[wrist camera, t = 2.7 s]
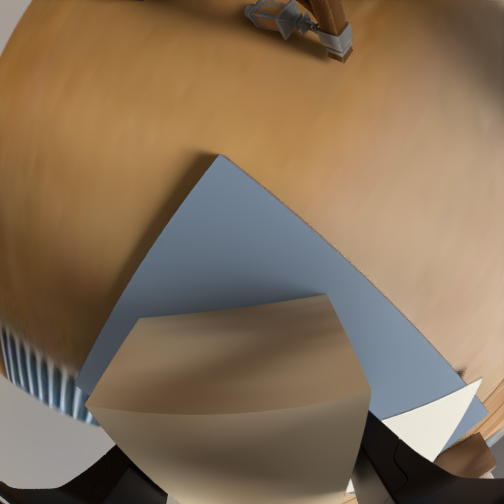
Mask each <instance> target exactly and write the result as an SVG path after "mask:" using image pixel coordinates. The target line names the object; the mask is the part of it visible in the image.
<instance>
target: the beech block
mask: <svg viewBox="0 0 504 504" xmlns="http://www.w3.org/2000/svg"><path fill="white" fill-rule="evenodd" d="M371 394H372V390H371V388H370V386H369V383H368V381H367V379H366V376H365V374H364V372H363V370H362V367H361V365H360V363H359V361H358V358H357V356H356V354H355V352H354V350H353V348H352V345H351V343H350V341H349V339H348V337H347V335H346V333H345V330H344V328H343V326H342V324H341V322H340V320H339V318H338V316H337V314H336V312H335V310H334V308H333V306H332V304H331V301H330V299H329V297H328V295H327V294H324V295H319V296H313V297H307V298H301V299H295V300H289V301H282V302H276V303H269V304H262V305H255V306H248V307H241V308H233V309H225V310H217V311H209V312H200V313H191V314H181V315H171V316H160V317H148V318H139V320H138V321H137V323H136V324H135V326H134V327H133V329H132V330H131V332H130V333H129V335H128V336H127V338H126V339H125V341H124V342H123V344H122V345H121V347H120V349H119V350H118V352H117V353H116V355H115V356H114V358H113V359H112V361H111V363H110V364H109V366H108V367H107V369H106V371H105V372H104V374H103V375H102V377H101V379H100V380H99V382H98V384H97V385H96V387H95V389H94V390H93V392H92V394H91V395H90V397H89V399H88V400H87V402H86V404H85V406H86V407H87V409H88V410H89V411H90V413H91V414H92V415H93V417H94V418H95V419H96V421H97V422H98V423H99V424H100V426H101V427H102V428H103V429H104V430H105V432H106V433H107V434H108V435H109V436H110V437H111V439H112V440H113V441H114V442H115V443H116V444H117V445H118V447H119V448H120V449H121V450H122V451H123V452H124V453H125V454H126V455H127V456H128V457H129V458H130V459H131V460H132V461H133V462H134V463H135V464H136V465H137V466H138V467H139V468H140V469H141V470H142V471H143V472H144V473H145V474H146V475H147V476H148V477H149V478H150V479H151V480H152V481H154V482H155V483H156V484H157V485H158V486H159V487H160V488H162V489H163V490H164V491H165V492H166V493H167V494H169V495H170V496H171V497H172V498H174V499H175V500H176V501H177V502H179V503H180V504H342V501H343V499H344V496H345V493H346V490H347V487H348V484H349V481H350V478H351V475H352V472H353V469H354V465H355V462H356V459H357V455H358V452H359V448H360V444H361V440H362V436H363V432H364V428H365V423H366V419H367V414H368V409H369V404H370V399H371Z"/></svg>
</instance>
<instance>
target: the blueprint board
mask: <svg viewBox="0 0 504 504" xmlns="http://www.w3.org/2000/svg"><path fill="white" fill-rule="evenodd" d="M324 294H327V295H328V297H329V299H330V301H331V304H332V306H333V308H334V310H335V312H336V314H337V316H338V318H339V320H340V322H341V324H342V326H343V328H344V330H345V333H346V335H347V337H348V339H349V341H350V343H351V345H352V348H353V350H354V352H355V354H356V356H357V358H358V361H359V363H360V365H361V367H362V370H363V372H364V374H365V376H366V379H367V381H368V383H369V386H370V388H371V390H372V394H371V399H370V404H369V410H370V411H371V412H372V413H373V414H374V415H375V416H376V417H377V418H378V419H379V420H381V421H382V422H383V423H384V424H385V425H386V426H387V427H388V428H389V429H391V430H392V431H393V432H394V433H395V434H396V435H397V436H398V437H399V439H402V440H403V441H404V442H405V443H406V444H407V445H409V446H410V447H411V448H412V449H414V450H415V451H416V452H418V453H419V454H421V455H422V456H423V457H425V458H426V459H428V460H430V461H431V462H433V461H434V460H435V458H436V457H437V456H438V454H440V453H441V452H443V451H444V450H445V449H447V448H448V447H449V446H451V445H452V444H453V443H455V442H456V441H457V440H458V439H460V438H461V437H462V436H463V435H464V434H466V433H467V432H468V431H469V430H470V429H472V428H473V427H474V426H475V425H476V424H477V423H478V422H479V421H481V420H482V419H483V418H484V417H485V416H486V415H487V414H488V413H489V412H488V411H487V409H486V408H485V406H484V405H483V404H482V402H481V401H480V400H479V399H478V397H477V396H476V395H475V393H476V391H477V389H478V387H479V385H480V383H481V380H482V378H483V377H480V378H478V379H477V380H475V381H473V382H471V383H469V384H466V383H465V382H464V381H463V379H462V378H461V377H460V376H459V375H458V374H457V372H456V371H455V370H454V369H453V368H452V367H451V365H450V364H449V363H448V362H447V361H446V360H445V359H444V358H443V356H442V355H441V354H440V353H439V352H438V351H437V350H436V349H435V348H434V346H433V345H432V344H431V343H430V342H429V341H428V340H427V339H426V338H425V337H424V336H423V335H422V334H421V332H420V331H419V330H418V329H417V328H416V327H415V326H414V325H413V324H412V323H411V322H410V321H409V320H408V319H407V318H406V317H405V316H404V315H403V314H402V313H401V312H400V311H399V310H398V309H397V308H396V307H395V306H394V305H393V304H392V303H391V302H390V301H389V300H388V299H387V298H386V297H385V296H384V295H383V294H382V293H381V292H380V291H379V290H378V289H377V288H376V287H375V286H374V285H373V284H372V283H371V282H370V281H369V280H368V279H367V278H366V277H365V276H364V275H363V274H362V273H361V272H360V271H359V270H358V269H357V268H355V267H354V266H353V265H352V264H351V263H350V262H349V261H348V260H347V259H346V258H345V257H344V256H343V255H342V254H340V253H339V252H338V251H337V250H336V249H335V248H334V247H333V246H332V245H331V244H330V243H328V242H327V241H326V240H325V239H324V238H323V237H322V236H321V235H319V234H318V233H317V232H316V231H315V230H314V229H313V228H312V227H310V226H309V225H308V224H307V223H306V222H305V221H304V220H302V219H301V218H300V217H299V216H298V215H297V214H295V213H294V212H293V211H292V210H291V209H290V208H288V207H287V206H286V205H285V204H284V203H283V202H281V201H280V200H279V199H278V198H277V197H275V196H274V195H273V194H272V193H271V192H269V191H268V190H267V189H266V188H265V187H263V186H262V185H261V184H260V183H258V182H257V181H256V180H255V179H253V178H252V177H251V176H250V175H249V174H247V173H246V172H245V171H243V170H242V169H241V168H240V167H238V166H237V165H236V164H235V163H233V162H232V161H231V160H230V159H228V158H227V157H226V156H224V155H221V154H220V155H219V156H218V157H217V158H216V160H215V161H214V162H213V163H212V165H211V166H210V167H209V169H208V170H207V171H206V172H205V174H204V175H203V176H202V178H201V179H200V180H199V181H198V183H197V184H196V185H195V187H194V188H193V189H192V191H191V192H190V193H189V195H188V196H187V197H186V199H185V200H184V202H183V203H182V204H181V206H180V207H179V208H178V210H177V211H176V213H175V214H174V215H173V217H172V218H171V220H170V221H169V222H168V224H167V225H166V227H165V228H164V230H163V231H162V233H161V234H160V235H159V237H158V238H157V240H156V241H155V243H154V244H153V246H152V247H151V249H150V250H149V252H148V253H147V255H146V257H145V258H144V260H143V261H142V263H141V264H140V266H139V267H138V269H137V271H136V272H135V274H134V275H133V277H132V279H131V280H130V282H129V283H128V285H127V287H126V288H125V290H124V292H123V293H122V295H121V297H120V298H119V300H118V302H117V304H116V305H115V307H114V309H113V311H112V312H111V314H110V316H109V318H108V319H107V321H106V323H105V325H104V327H103V328H102V330H101V332H100V334H99V336H98V338H97V339H96V341H95V343H94V345H93V347H92V349H91V351H90V353H89V355H88V357H87V359H86V361H85V363H84V365H83V367H82V369H81V371H80V373H79V375H78V377H77V379H76V381H75V385H76V386H78V387H79V388H80V389H82V390H83V391H84V392H86V393H87V394H88V395H91V394H92V392H93V390H94V389H95V387H96V385H97V384H98V382H99V380H100V379H101V377H102V375H103V374H104V372H105V371H106V369H107V367H108V366H109V364H110V363H111V361H112V359H113V358H114V356H115V355H116V353H117V352H118V350H119V349H120V347H121V345H122V344H123V342H124V341H125V339H126V338H127V336H128V335H129V333H130V332H131V330H132V329H133V327H134V326H135V324H136V323H137V321H138V320H139V318H148V317H160V316H171V315H181V314H191V313H200V312H209V311H217V310H225V309H233V308H241V307H248V306H255V305H262V304H269V303H276V302H282V301H289V300H295V299H301V298H307V297H313V296H319V295H324ZM346 493H353V494H355V491H354V488H353V484H352V481H351V478H350V481H349V484H348V487H347V490H346Z"/></svg>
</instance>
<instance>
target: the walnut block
mask: <svg viewBox="0 0 504 504" xmlns="http://www.w3.org/2000/svg"><path fill="white" fill-rule="evenodd" d="M434 463H435V464H436V465H438V466H439V467H441V468H443V469H444V470H446V471H448V472H450V473H452V474H454V475H457V476H461V477H471V478H484V477H485V476H486V475H488V474H489V473H490V472H491V471H492V470H493V469H494V468H495V467H496V466H497V465H498V464H497V462H496V460H495V458H494V456H493V455H492V453H491V451H490V449H489V447H488V446H487V444H486V442H485V440H484V439H483V437H482V435H481V434H480V432H479V433H477V434H475V435H474V436H472V437H470V438H468V439H467V440H465V441H463V442H461V443H460V444H458V445H456V446H454V447H452V448H450V449H448V450H446V451H444V452H442V453H440V455H439V456H438V457H437V459H436V460H435V461H434Z"/></svg>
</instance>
